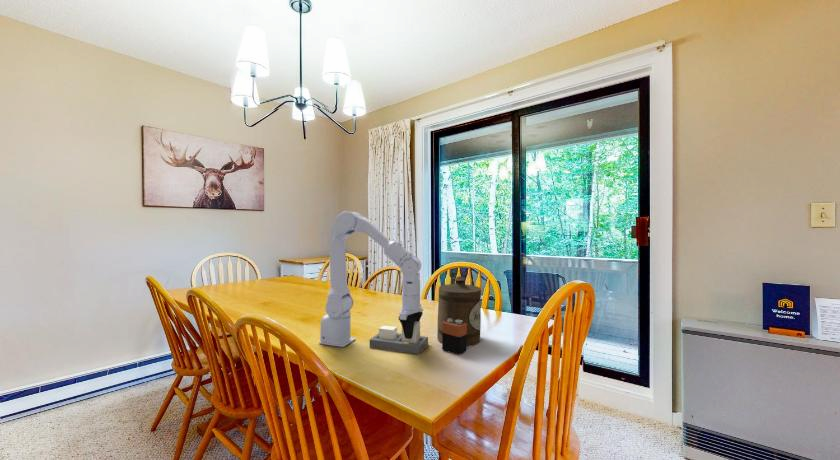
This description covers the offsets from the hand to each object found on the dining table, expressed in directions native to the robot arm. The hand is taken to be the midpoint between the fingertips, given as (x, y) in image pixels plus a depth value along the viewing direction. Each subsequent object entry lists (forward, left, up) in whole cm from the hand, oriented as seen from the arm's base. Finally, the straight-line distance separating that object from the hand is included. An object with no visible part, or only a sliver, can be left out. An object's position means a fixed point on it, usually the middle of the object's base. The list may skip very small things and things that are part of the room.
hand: (410, 336), depth 109 cm
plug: (0, 0, -2) cm, 3 cm away
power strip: (-4, 0, -4) cm, 5 cm away
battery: (+14, +2, -4) cm, 15 cm away
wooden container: (+13, +13, -4) cm, 19 cm away
